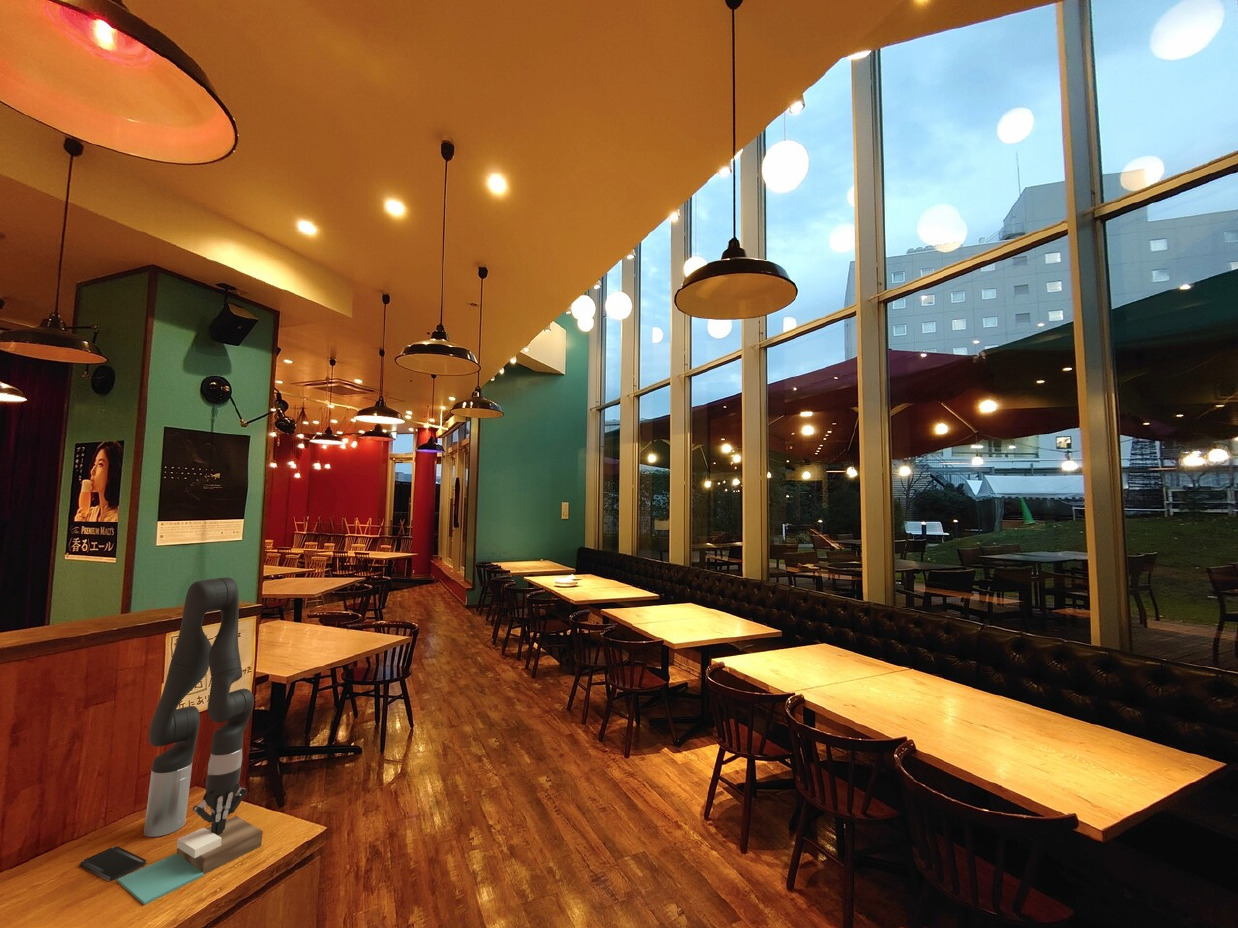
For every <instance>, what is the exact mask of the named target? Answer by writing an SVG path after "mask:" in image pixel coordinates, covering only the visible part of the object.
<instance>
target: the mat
mask: <svg viewBox="0 0 1238 928" xmlns="http://www.w3.org/2000/svg"><path fill="white" fill-rule="evenodd" d="M204 876H205V874H204V873H203V872H201V871H200V870H199V869H197V868H196V867H195V866H193V865H192V864H190V863H189V862H188V861H186V860H185V859H183V858H182V857H181V856H179V855H178V854H177V853H174V854H171V855H169V856H167V857H164V858H162V859H160V860H158V861H155V862H153V863H151V864H149V865H146V866H145V867H144V866H143V867H141V868H139V869H137V870H135V871H133V872H131V873H129V874H127V875H125V876H123V877H121V878H119V879H117V883H118V884H119V885H120V886H121V887H122V888H124V889H125V890H126V891H128V892H129V893H130V894H131V895H132V896H133V897H134V898H136V899H137V900H138V902H140V903H141V904H142V905H143V906H146V905H147V904H149V903H151V902H154V901H156V900H157V899H158V900H159V898H162V897H164V896H166V895H167V894H169V893H173V892H174V891H175V890H177V889H180V888H182V887H183V886H186V885H189V883H192V882H194V881H196V880H198V879H199V878H202V877H204Z"/></svg>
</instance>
